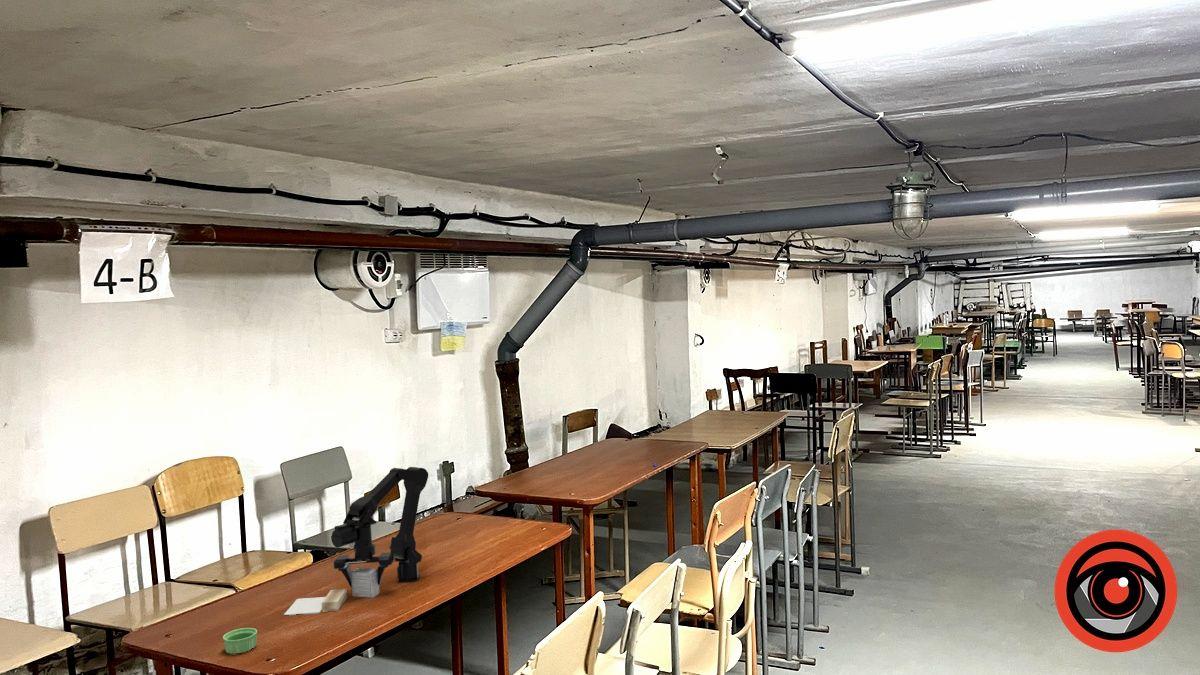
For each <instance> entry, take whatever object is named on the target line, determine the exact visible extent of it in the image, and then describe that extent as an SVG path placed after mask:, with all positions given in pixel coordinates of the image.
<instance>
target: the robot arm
mask: <svg viewBox="0 0 1200 675" xmlns="http://www.w3.org/2000/svg"><path fill="white" fill-rule="evenodd" d="M428 479H429V472H428V470H427V469H425V468H424V467H416V466H409V467H408V468H407V469H405V468H400V467H393V468H391V469H390V470H389V472H388V473H387V474H386V475H385V476H384V477H383V478H382V480H380V481H379V483H378V484H377V485H375V487H373V488H372V489H371V490H370V491H369V492H368V493H367V494H365V495H363V496H361V497H359V498H357V499H356V500H355V501H354V502H352V503H351V504H350V505H349V509H348V512H347V514H346V516H345V517H344V520H343V522H342V524H341V525H340V524H339V525H335V526H334V530H333V531H332V533H331V536H330V539H331V543H332V545H333V546H334V547H335V548H336V549H337V548H341V547H344V546H348V545H351V544H354V545H353V553H354V557H350V555H348V554H347V555H345V554H344V555H338V556H337V557H336V559H334V561H333V569H334V570H337V571H338V572H341V573H342V575H343V576H344V577H345V579H346V580H347V583H348V585H349V587H350V588H352V580H351V571H352V565H357V564H371V563H373V564H374V563H378V564H379V565H378V566H377V569H378V585H379V586H380V585H381V582H382V579H383V575H384V571H385V569H386V568H388V567H389V566H391V565H392V564H393V562H394V561H395V562H396V563H397V564H398V565H397V567H396V574H397V579H398V581H397V582H398V583H402V582H403V583H404V582H417V581H418V579H419V577H420V573H419V563H420V562H422V558H423V554H421V553H420V552H419V551H417V550H416V547H417V546H416V545H417V543H416V540H415V535H414V531H415V525H416V521H417V513H418V507H419V503H420V502H419V501H420V496H421V493H422V491H423V490H424V489H425V488H426V486H427V483H428ZM401 481H403V486H404V489H405V497H404V501H403V507H402V514H401V520H400V524H399V529H398V530H399V531H398V533H397V535H396V536H391V540H390V541H391V542H390V546H389V550H390V552H381V553H380V555H378V556H375V555H376V544H375V543H373V540H372V539H373V538H372V525H376V524H377V521H376V520H375V519H373V516H374V515H375V513H376V511H377V510H378V507H379V504H380V503H381V502H382V500H384V499H385V498H386V496H388V494H390V492H392V490H393V489H394V488H395V487H396V486H397V485H399V483H400V482H401Z"/></svg>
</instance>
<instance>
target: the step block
mask: <svg viewBox="0 0 1200 675" xmlns="http://www.w3.org/2000/svg"><path fill="white" fill-rule="evenodd" d="M347 590H348V589H347V588H335V589H330V590H329V592H328V593H327V595H326V596H324V597H325V599H324V600H323V601H322V611H321V612H322V613H325V612H326V613H327V612H328V611H329V612H338V611H339V610H340V608H341V607H342V606H343V605H344V602H346V600H347V598H348V592H347Z"/></svg>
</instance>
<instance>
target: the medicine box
mask: <svg viewBox="0 0 1200 675" xmlns="http://www.w3.org/2000/svg"><path fill="white" fill-rule="evenodd" d="M351 580H352V587H351V591H352V593H351V594H352V597H359V598H371V599H372V598H375V597H376V596H378V595H379V594H380V585H378V568H375V567H360V566H359V567H356V568H355V569H353V570H351Z"/></svg>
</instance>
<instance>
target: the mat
mask: <svg viewBox="0 0 1200 675" xmlns="http://www.w3.org/2000/svg"><path fill="white" fill-rule="evenodd" d="M325 597H326V596H319V597H307V598H296V599H295V601H294V602H293V604H291V606H290V607H289V608H288V609H287V610H286V612H284V613H283V616H284V615H289V616H297V615H296V614H303V615H312V614H313V615H314V614H320V613H321V612H322V601H323V600H324V599H325Z"/></svg>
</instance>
